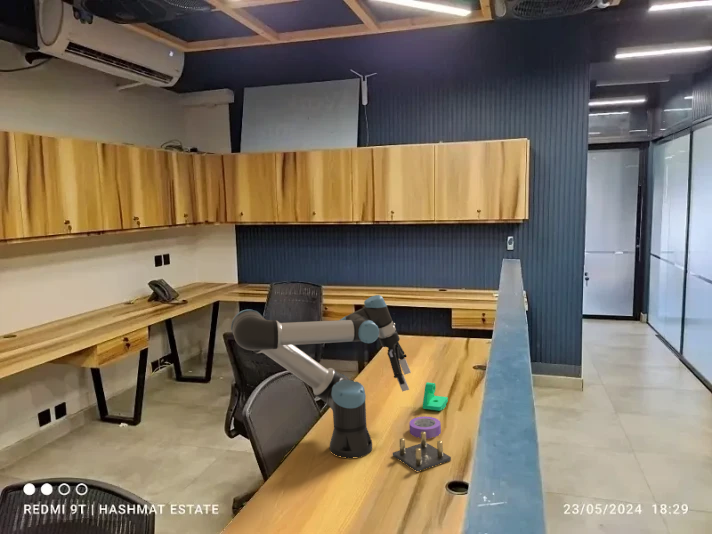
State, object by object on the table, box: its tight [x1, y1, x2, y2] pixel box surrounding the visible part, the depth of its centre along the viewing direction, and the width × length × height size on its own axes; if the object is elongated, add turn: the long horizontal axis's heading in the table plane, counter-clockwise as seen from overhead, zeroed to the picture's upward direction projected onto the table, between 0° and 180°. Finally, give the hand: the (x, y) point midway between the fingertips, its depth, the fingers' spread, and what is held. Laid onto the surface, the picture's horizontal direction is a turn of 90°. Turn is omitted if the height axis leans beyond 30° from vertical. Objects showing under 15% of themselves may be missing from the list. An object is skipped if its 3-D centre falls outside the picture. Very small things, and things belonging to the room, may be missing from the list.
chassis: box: [392, 432, 452, 472], centre depth 180 cm, size 14×14×6 cm
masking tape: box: [408, 416, 442, 439], centre depth 201 cm, size 12×12×4 cm
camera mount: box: [422, 382, 449, 411], centre depth 225 cm, size 12×8×10 cm, turn 155°
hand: (406, 381), depth 208 cm, fingers open, 13 cm apart
